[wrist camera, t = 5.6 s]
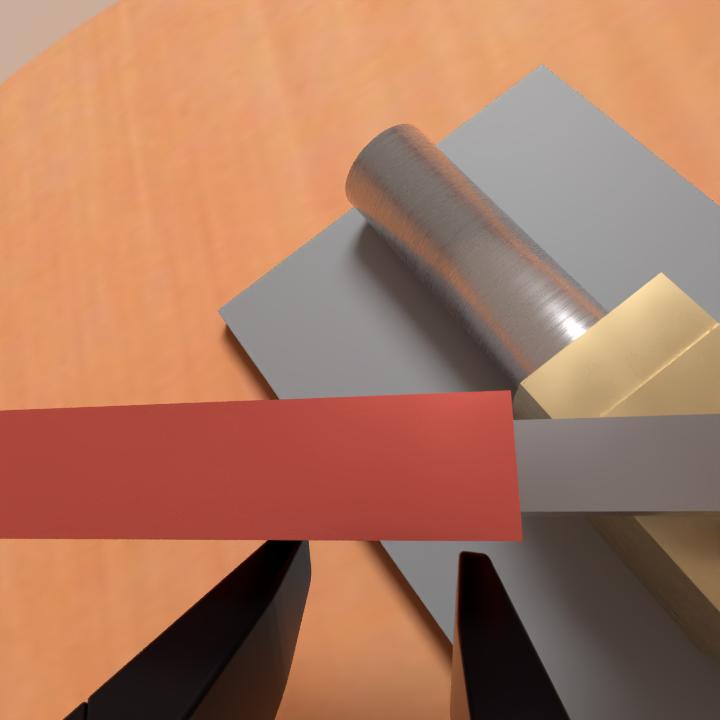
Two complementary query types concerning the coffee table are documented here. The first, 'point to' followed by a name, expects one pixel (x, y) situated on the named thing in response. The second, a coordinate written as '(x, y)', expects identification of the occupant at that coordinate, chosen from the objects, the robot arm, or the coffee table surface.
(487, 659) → the robot arm
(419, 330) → the mounting board
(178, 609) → the coffee table surface
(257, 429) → the valve lever
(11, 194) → the coffee table surface
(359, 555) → the coffee table surface
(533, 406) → the valve body
